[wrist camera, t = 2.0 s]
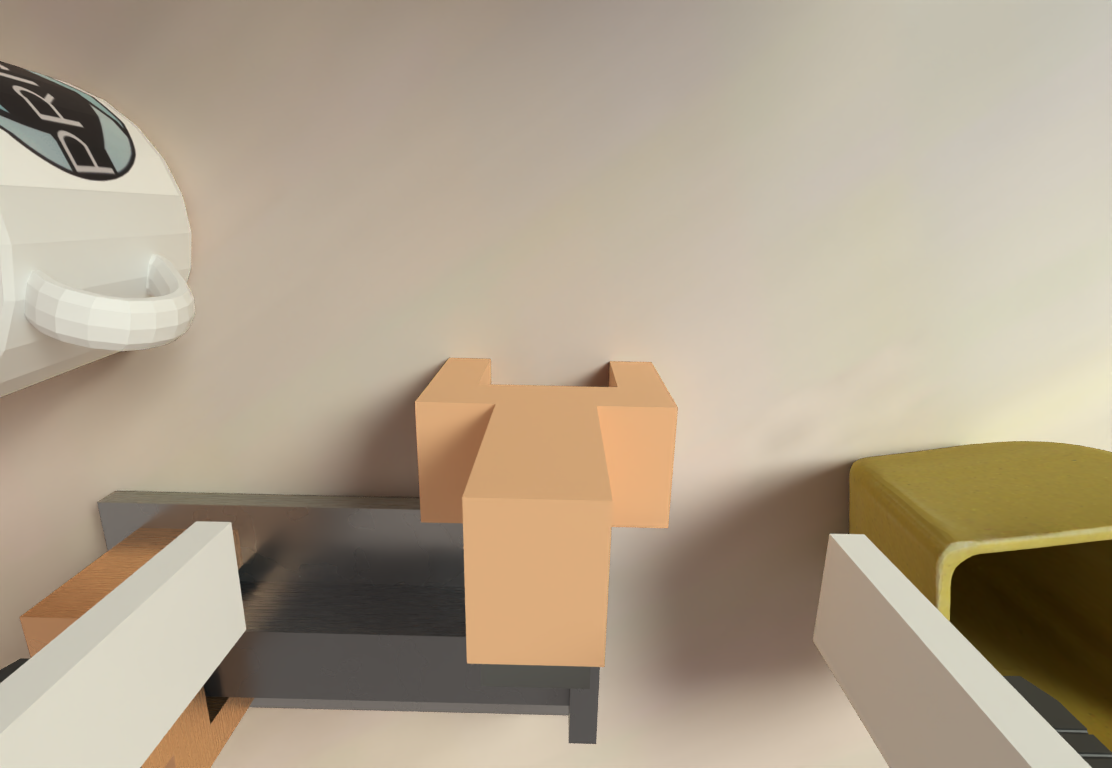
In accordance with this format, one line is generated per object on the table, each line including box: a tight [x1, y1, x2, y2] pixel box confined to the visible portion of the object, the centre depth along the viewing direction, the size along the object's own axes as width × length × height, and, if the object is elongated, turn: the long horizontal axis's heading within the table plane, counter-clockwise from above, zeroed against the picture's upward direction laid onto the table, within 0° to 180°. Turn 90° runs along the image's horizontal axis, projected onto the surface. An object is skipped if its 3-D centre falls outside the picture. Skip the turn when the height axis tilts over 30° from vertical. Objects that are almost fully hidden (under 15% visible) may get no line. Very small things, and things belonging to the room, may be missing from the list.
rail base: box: [20, 491, 600, 768], centre depth 20 cm, size 10×20×12 cm, turn 89°
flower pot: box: [849, 441, 1112, 752], centre depth 20 cm, size 9×9×9 cm
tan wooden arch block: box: [415, 358, 678, 689], centre depth 18 cm, size 8×5×12 cm, turn 89°
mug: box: [0, 61, 195, 397], centre depth 18 cm, size 13×10×8 cm
